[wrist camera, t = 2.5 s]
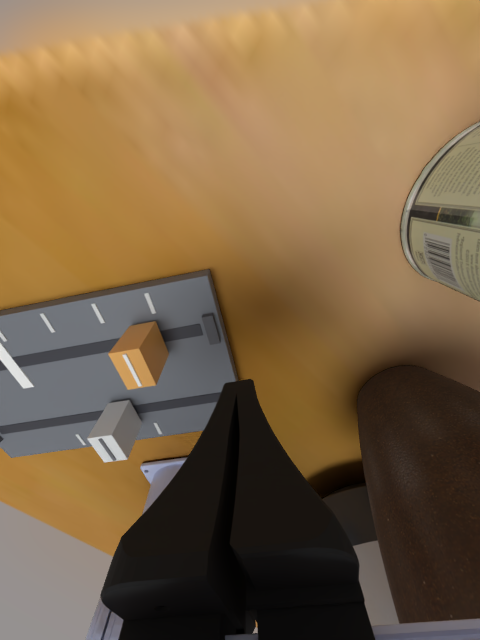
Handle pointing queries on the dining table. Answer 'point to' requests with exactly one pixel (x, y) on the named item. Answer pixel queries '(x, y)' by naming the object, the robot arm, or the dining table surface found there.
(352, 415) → the dining table surface
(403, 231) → the coffee can
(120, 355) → the orange fader knob
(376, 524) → the plant pot
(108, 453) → the grey fader knob
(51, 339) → the console
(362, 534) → the planter
